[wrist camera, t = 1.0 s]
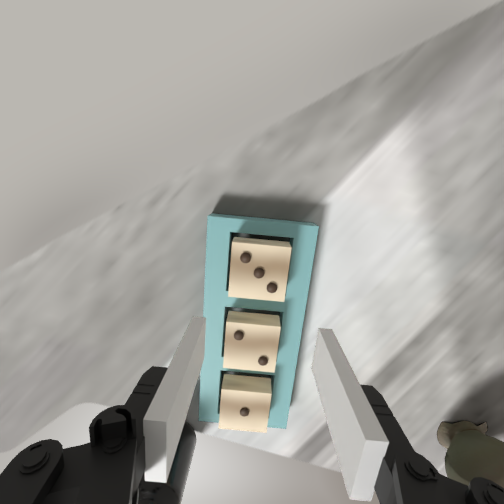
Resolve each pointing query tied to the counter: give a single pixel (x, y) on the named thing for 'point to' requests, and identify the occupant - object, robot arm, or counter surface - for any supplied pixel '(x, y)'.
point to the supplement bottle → (171, 474)
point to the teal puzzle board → (290, 309)
